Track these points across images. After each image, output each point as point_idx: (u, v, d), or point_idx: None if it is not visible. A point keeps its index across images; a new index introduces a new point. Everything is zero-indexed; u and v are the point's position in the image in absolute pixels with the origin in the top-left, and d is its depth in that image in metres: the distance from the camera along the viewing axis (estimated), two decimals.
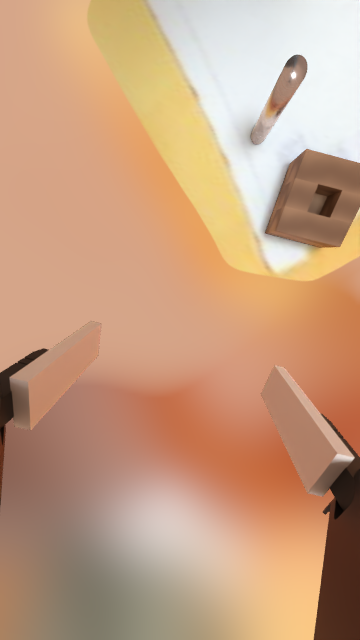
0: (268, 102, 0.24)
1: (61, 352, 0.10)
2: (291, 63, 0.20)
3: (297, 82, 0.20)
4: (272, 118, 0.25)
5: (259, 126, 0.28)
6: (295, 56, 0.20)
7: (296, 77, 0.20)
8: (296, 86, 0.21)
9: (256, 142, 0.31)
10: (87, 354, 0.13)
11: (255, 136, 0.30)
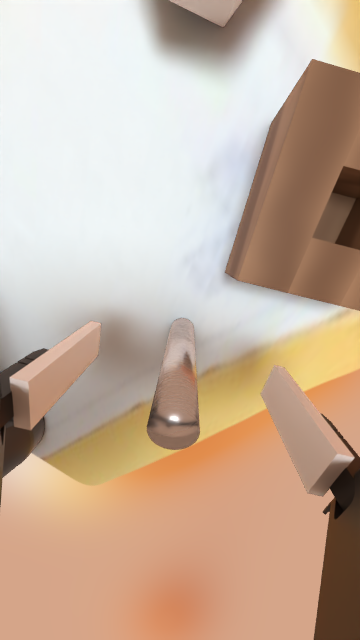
0: None
1: (61, 352, 0.10)
2: (160, 438, 0.09)
3: (193, 423, 0.09)
4: None
5: None
6: (148, 429, 0.09)
7: (184, 427, 0.09)
8: (197, 419, 0.09)
9: None
10: (87, 354, 0.13)
11: None
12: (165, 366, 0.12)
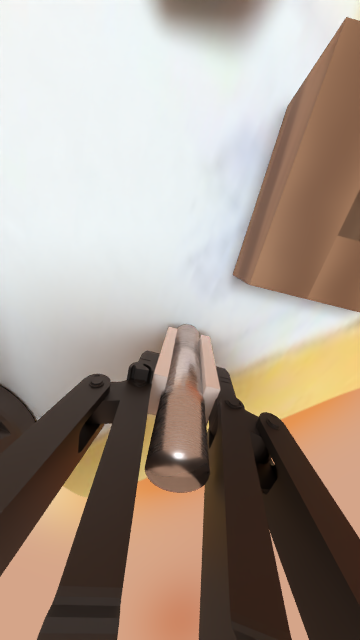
0: None
1: (170, 354, 0.12)
2: (161, 479, 0.07)
3: (201, 464, 0.07)
4: None
5: None
6: (146, 467, 0.07)
7: (191, 468, 0.07)
8: (206, 458, 0.07)
9: None
10: None
11: None
12: (168, 385, 0.10)
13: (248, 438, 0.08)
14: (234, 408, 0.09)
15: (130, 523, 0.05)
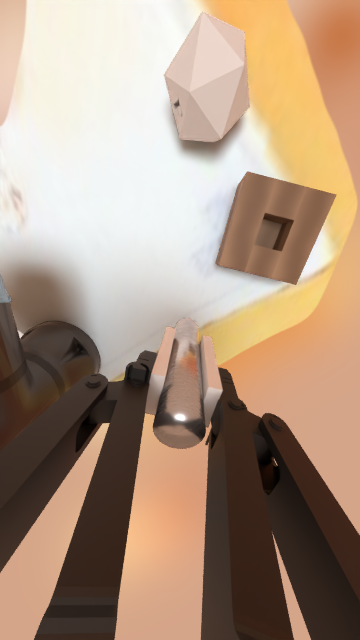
0: None
1: (168, 353, 0.12)
2: (166, 436, 0.09)
3: (199, 423, 0.09)
4: None
5: None
6: (154, 427, 0.09)
7: (190, 426, 0.09)
8: (203, 418, 0.09)
9: None
10: None
11: None
12: (171, 366, 0.12)
13: (251, 439, 0.08)
14: (237, 409, 0.09)
15: (127, 522, 0.05)
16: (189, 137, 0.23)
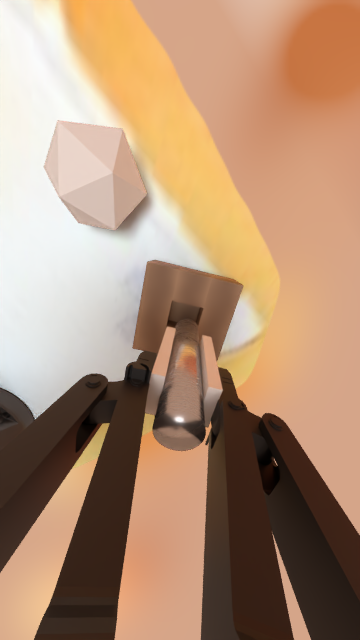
0: None
1: (168, 353, 0.12)
2: (166, 439, 0.09)
3: (199, 425, 0.08)
4: None
5: None
6: (153, 429, 0.09)
7: (190, 428, 0.09)
8: (203, 420, 0.09)
9: None
10: None
11: None
12: (170, 367, 0.12)
13: (251, 439, 0.08)
14: (237, 409, 0.09)
15: (127, 522, 0.05)
16: (86, 223, 0.21)
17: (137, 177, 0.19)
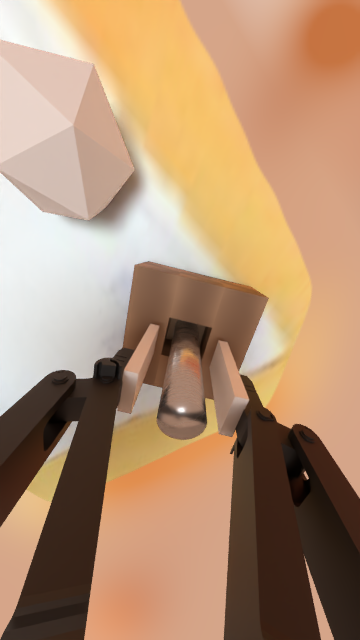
0: None
1: (146, 350, 0.12)
2: (169, 428, 0.09)
3: (200, 414, 0.09)
4: None
5: None
6: (157, 419, 0.09)
7: (192, 417, 0.09)
8: (204, 410, 0.09)
9: None
10: (151, 352, 0.15)
11: None
12: (172, 362, 0.12)
13: (280, 452, 0.07)
14: (265, 420, 0.09)
15: (99, 519, 0.05)
16: (51, 212, 0.16)
17: (119, 143, 0.13)
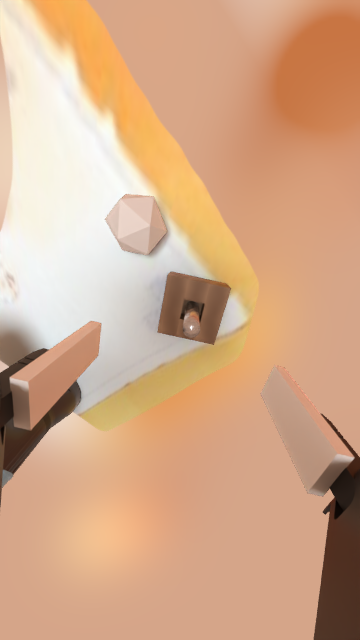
0: None
1: (61, 352, 0.10)
2: (187, 332, 0.27)
3: (197, 326, 0.26)
4: None
5: None
6: None
7: (195, 328, 0.26)
8: (199, 326, 0.27)
9: None
10: (87, 354, 0.13)
11: None
12: (186, 315, 0.30)
13: None
14: None
15: None
16: (127, 250, 0.33)
17: (161, 222, 0.31)
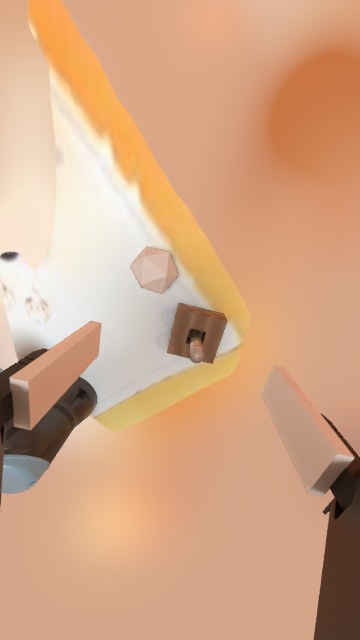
0: None
1: (61, 352, 0.10)
2: (193, 359, 0.35)
3: (201, 355, 0.35)
4: (201, 344, 0.40)
5: None
6: (190, 357, 0.35)
7: (199, 356, 0.35)
8: (202, 354, 0.35)
9: None
10: (87, 354, 0.13)
11: None
12: (192, 343, 0.38)
13: None
14: None
15: None
16: (146, 288, 0.41)
17: (174, 270, 0.39)
